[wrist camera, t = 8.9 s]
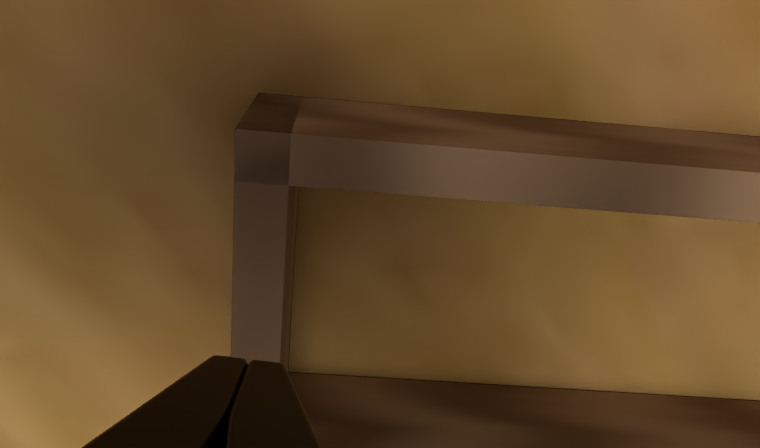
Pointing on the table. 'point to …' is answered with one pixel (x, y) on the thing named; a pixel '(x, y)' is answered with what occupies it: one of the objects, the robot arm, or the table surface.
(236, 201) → the brown rectangular frame
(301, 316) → the table surface
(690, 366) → the table surface
